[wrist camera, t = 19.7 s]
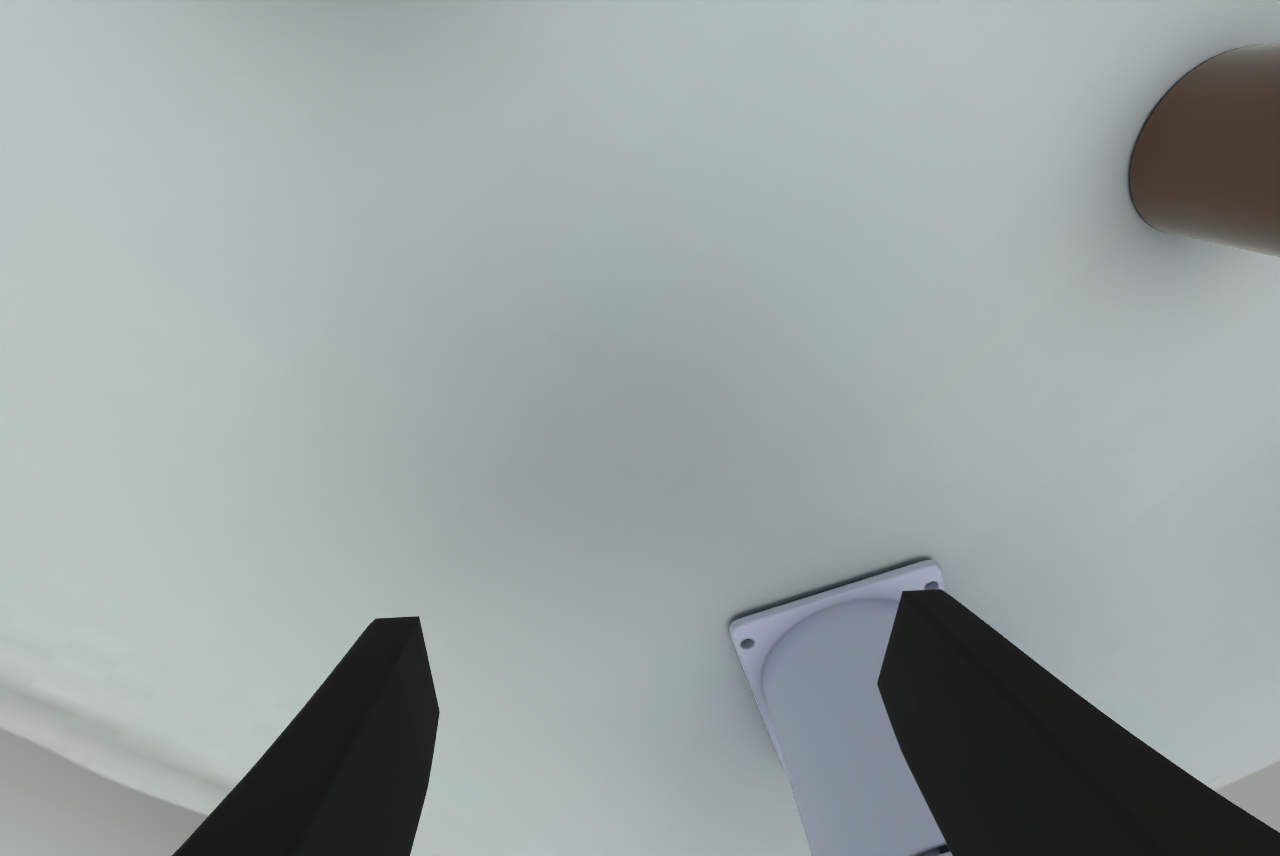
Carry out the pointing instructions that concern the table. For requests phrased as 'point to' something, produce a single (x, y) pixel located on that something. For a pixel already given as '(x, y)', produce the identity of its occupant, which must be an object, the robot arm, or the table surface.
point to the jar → (1216, 154)
